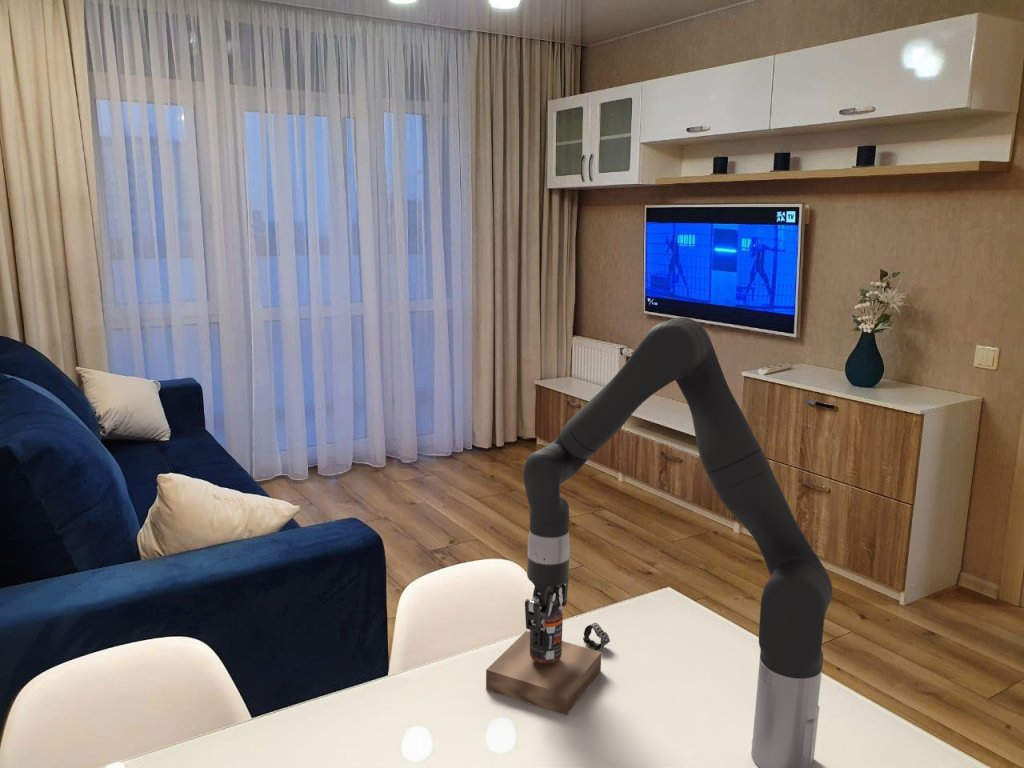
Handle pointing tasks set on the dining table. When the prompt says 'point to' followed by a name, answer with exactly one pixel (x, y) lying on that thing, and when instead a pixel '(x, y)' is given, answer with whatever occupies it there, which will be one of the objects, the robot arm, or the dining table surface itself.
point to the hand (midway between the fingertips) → (546, 638)
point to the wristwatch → (599, 633)
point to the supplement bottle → (550, 638)
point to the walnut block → (544, 675)
